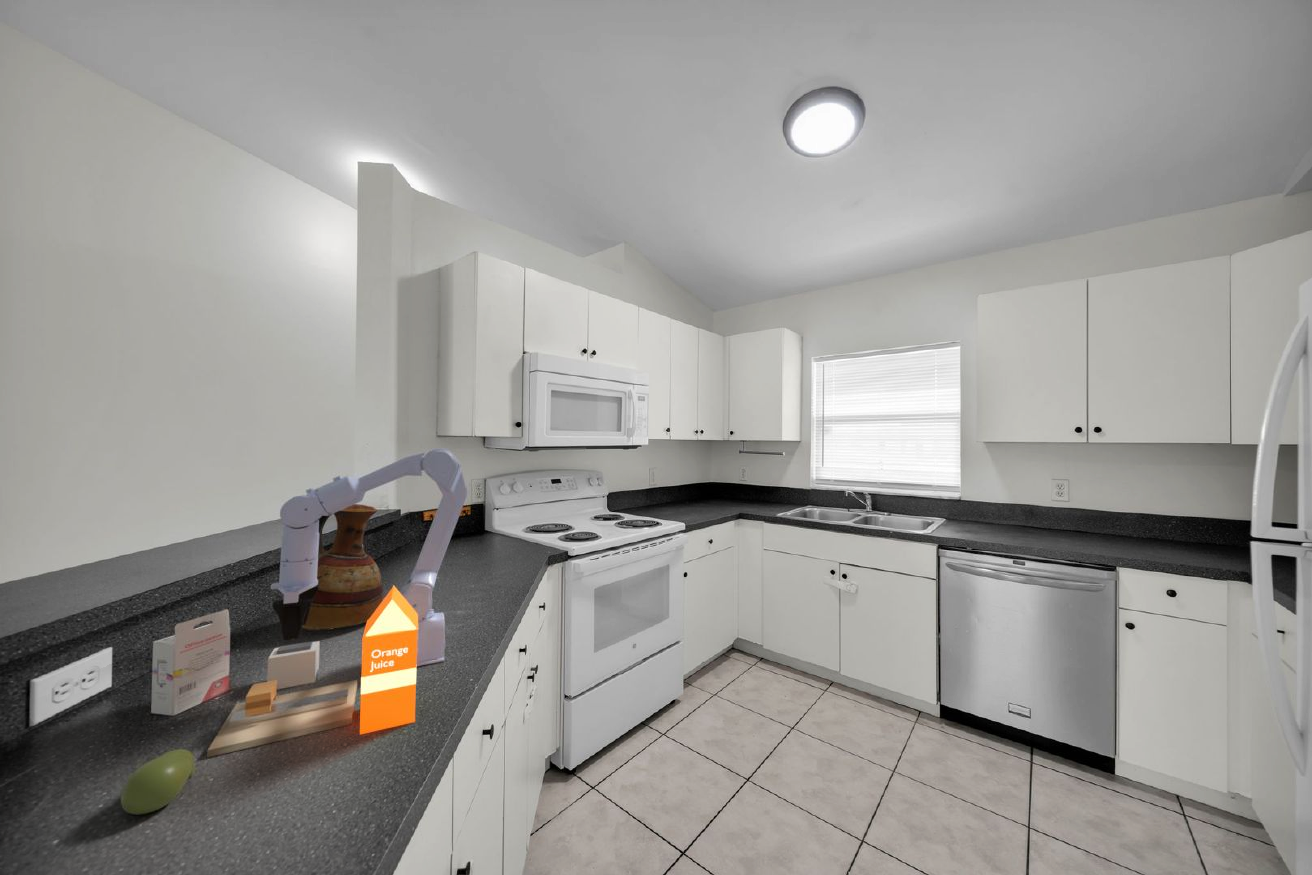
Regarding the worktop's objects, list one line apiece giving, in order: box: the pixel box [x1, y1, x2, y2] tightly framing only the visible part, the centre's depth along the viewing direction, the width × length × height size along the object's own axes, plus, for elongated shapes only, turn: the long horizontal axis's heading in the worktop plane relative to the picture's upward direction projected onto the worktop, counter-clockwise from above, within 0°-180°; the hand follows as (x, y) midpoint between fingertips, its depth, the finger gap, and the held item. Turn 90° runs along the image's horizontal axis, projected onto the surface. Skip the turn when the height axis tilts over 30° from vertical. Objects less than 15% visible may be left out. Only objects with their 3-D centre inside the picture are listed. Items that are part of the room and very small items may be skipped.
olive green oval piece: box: [120, 748, 196, 816], centre depth 58 cm, size 6×5×10 cm
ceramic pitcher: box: [302, 503, 384, 631], centre depth 117 cm, size 20×20×30 cm
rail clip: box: [245, 680, 278, 717], centre depth 74 cm, size 3×4×3 cm, turn 29°
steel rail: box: [229, 689, 349, 728], centre depth 76 cm, size 15×3×1 cm, turn 119°
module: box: [266, 640, 321, 690], centre depth 88 cm, size 7×5×6 cm
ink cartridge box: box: [150, 609, 231, 717], centre depth 80 cm, size 9×5×15 cm, turn 168°
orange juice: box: [359, 584, 418, 735], centre depth 77 cm, size 8×9×20 cm
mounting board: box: [206, 679, 358, 758], centre depth 76 cm, size 17×14×1 cm
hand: (295, 631), depth 88 cm, fingers open, 7 cm apart
